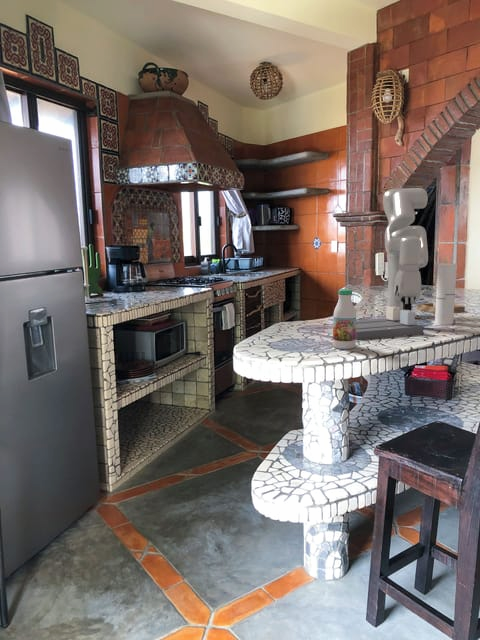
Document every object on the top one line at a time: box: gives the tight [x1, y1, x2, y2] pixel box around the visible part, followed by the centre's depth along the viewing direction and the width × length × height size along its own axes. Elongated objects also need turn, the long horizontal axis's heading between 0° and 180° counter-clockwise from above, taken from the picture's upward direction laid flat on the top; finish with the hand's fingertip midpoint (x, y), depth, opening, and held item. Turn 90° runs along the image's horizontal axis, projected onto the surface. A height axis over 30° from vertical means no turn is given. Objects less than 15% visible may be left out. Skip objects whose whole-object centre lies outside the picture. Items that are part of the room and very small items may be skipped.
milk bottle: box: [332, 288, 357, 350], centre depth 159 cm, size 8×8×20 cm
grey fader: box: [399, 309, 416, 325], centre depth 180 cm, size 5×3×5 cm, turn 15°
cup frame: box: [417, 302, 466, 314], centre depth 227 cm, size 15×15×2 cm
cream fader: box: [385, 305, 400, 321], centre depth 190 cm, size 5×3×5 cm, turn 15°
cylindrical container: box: [434, 262, 458, 326], centre depth 195 cm, size 7×7×25 cm
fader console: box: [356, 318, 424, 341], centre depth 183 cm, size 19×28×3 cm
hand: (406, 313), depth 191 cm, fingers closed
